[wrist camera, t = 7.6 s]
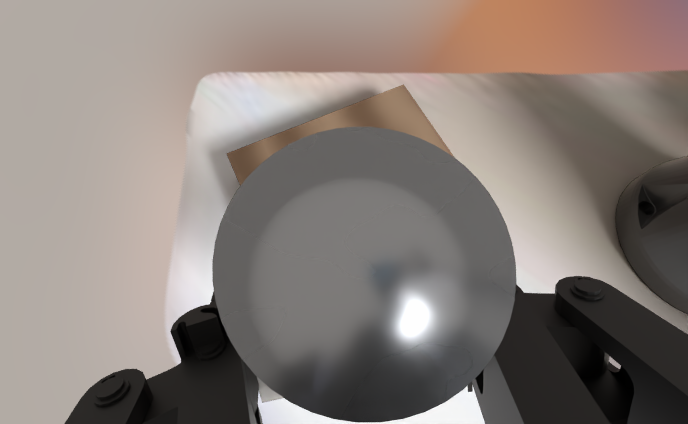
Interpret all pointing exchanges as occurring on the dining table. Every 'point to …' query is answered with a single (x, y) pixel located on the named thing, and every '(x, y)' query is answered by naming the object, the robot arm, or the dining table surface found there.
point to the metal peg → (364, 274)
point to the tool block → (376, 111)
